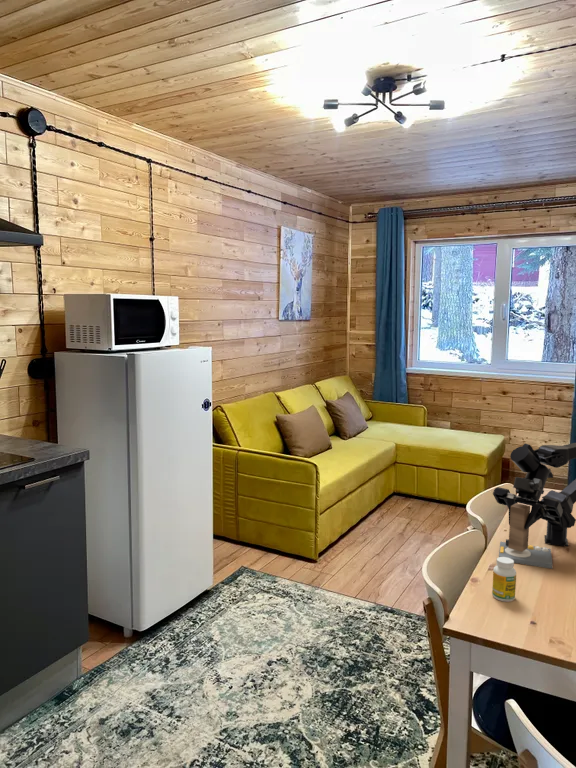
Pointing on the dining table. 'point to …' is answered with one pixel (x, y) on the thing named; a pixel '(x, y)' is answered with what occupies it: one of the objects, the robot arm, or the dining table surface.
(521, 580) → the dining table surface
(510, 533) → the post
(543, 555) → the panel
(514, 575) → the supplement bottle
